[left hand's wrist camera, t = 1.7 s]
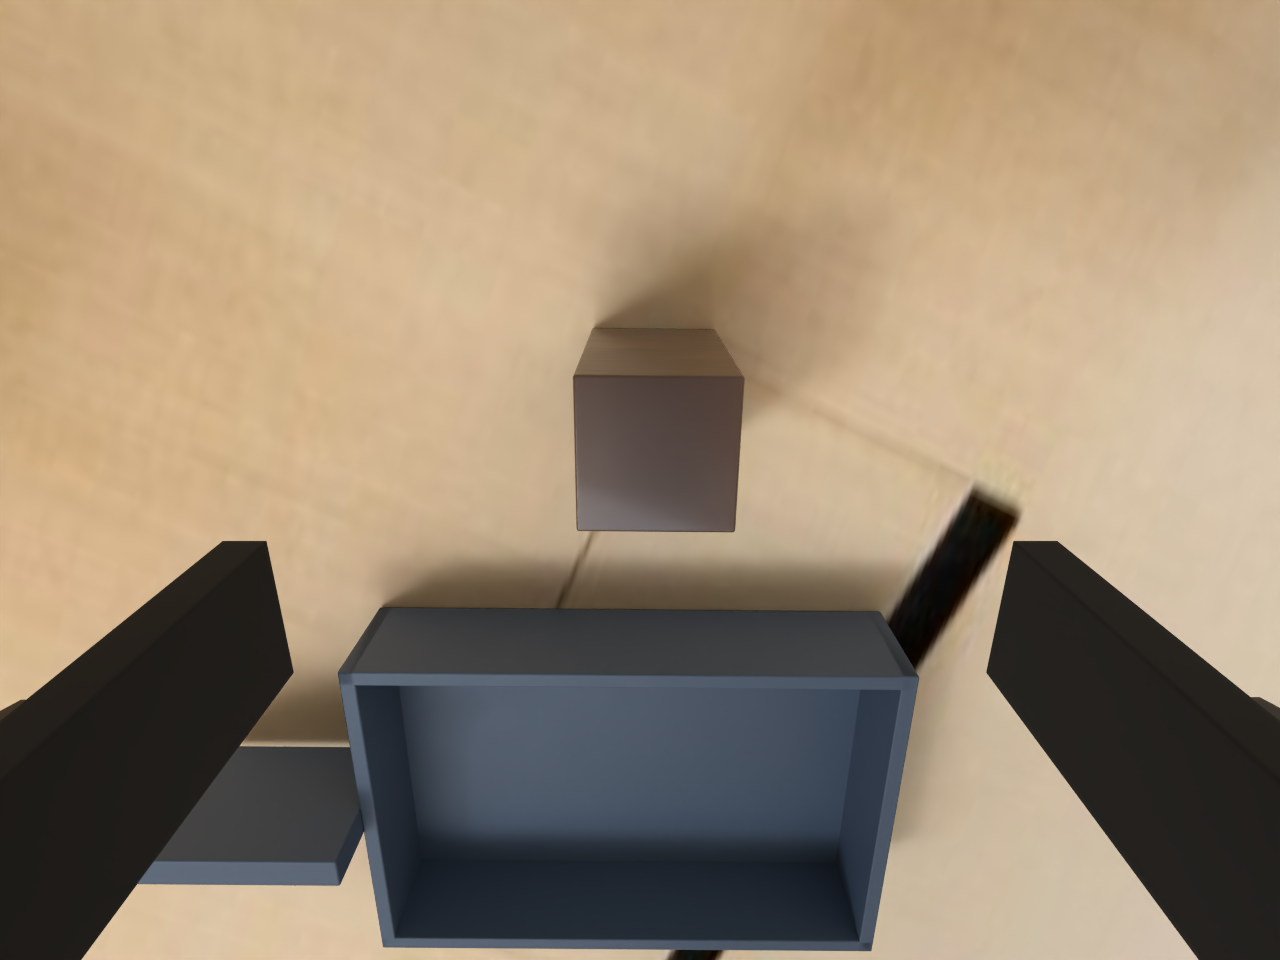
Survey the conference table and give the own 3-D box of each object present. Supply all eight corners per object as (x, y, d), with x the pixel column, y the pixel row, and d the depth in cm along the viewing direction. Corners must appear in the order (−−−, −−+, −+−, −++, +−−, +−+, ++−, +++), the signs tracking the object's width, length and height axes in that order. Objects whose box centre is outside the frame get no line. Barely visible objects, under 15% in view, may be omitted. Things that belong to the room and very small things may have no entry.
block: (715, 329, 26) (744, 376, 19) (709, 446, 28) (735, 533, 20) (592, 328, 26) (572, 375, 19) (593, 444, 28) (576, 531, 20)
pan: (880, 611, 30) (946, 721, 24) (843, 861, 35) (889, 1009, 29) (190, 605, 30) (66, 713, 24) (251, 856, 35) (163, 1004, 29)
